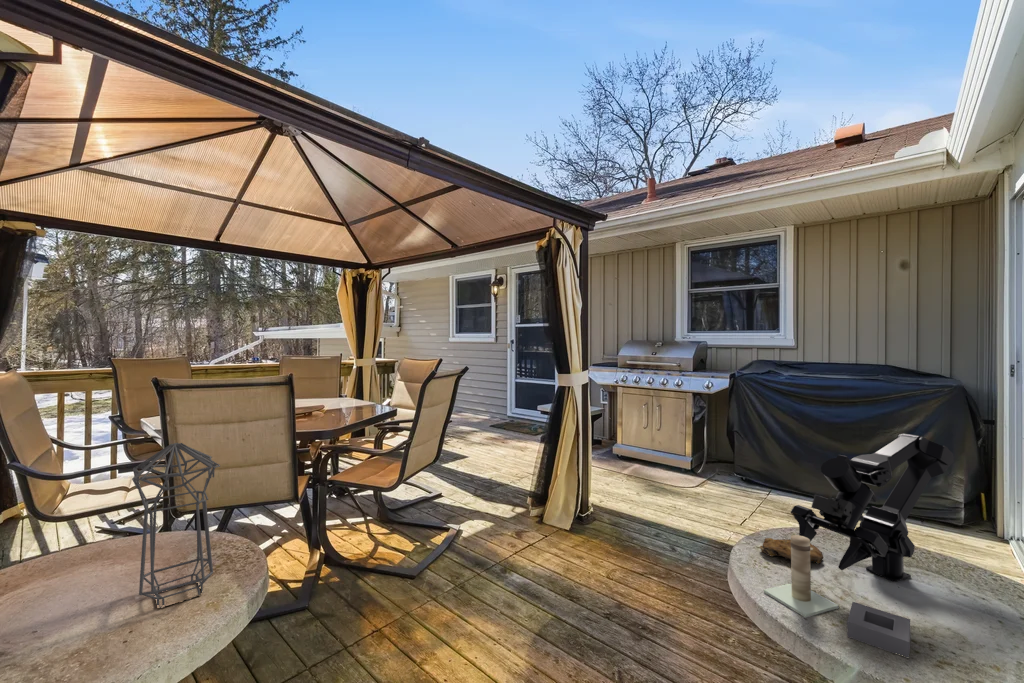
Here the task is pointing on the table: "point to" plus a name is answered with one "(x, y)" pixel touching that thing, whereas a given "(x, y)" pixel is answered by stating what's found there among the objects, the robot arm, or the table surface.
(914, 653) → the table surface
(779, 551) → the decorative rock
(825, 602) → the mat
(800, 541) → the plug
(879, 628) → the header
